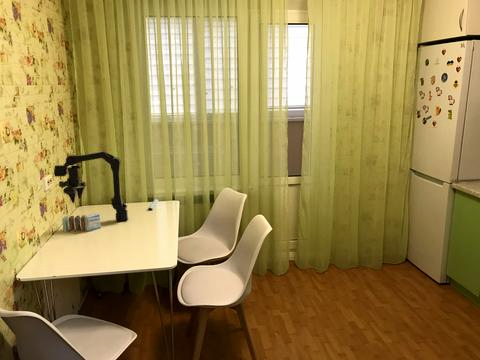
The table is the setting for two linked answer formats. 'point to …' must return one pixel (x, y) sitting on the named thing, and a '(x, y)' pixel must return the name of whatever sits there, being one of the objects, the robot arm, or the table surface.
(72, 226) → the domino
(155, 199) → the white black-tipped bar
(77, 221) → the domino
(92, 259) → the table surface
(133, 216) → the table surface
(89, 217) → the medicine box
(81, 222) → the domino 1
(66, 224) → the domino
